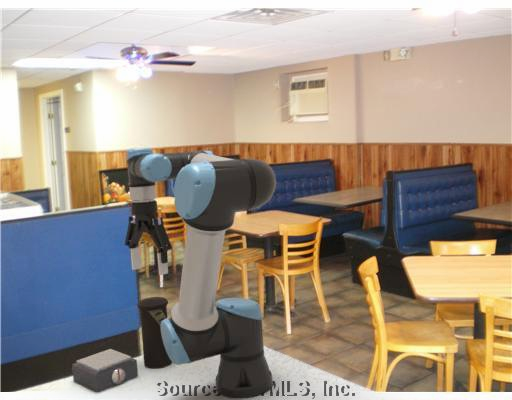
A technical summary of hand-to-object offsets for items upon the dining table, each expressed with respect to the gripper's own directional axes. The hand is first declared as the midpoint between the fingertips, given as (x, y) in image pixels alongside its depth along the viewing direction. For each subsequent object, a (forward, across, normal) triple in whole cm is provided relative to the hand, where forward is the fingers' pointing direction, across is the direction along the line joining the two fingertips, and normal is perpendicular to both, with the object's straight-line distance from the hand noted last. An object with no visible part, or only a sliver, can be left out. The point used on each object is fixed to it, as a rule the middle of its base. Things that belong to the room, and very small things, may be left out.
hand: (149, 271), depth 165 cm
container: (+28, 0, 0) cm, 28 cm away
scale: (+28, +3, +16) cm, 32 cm away
